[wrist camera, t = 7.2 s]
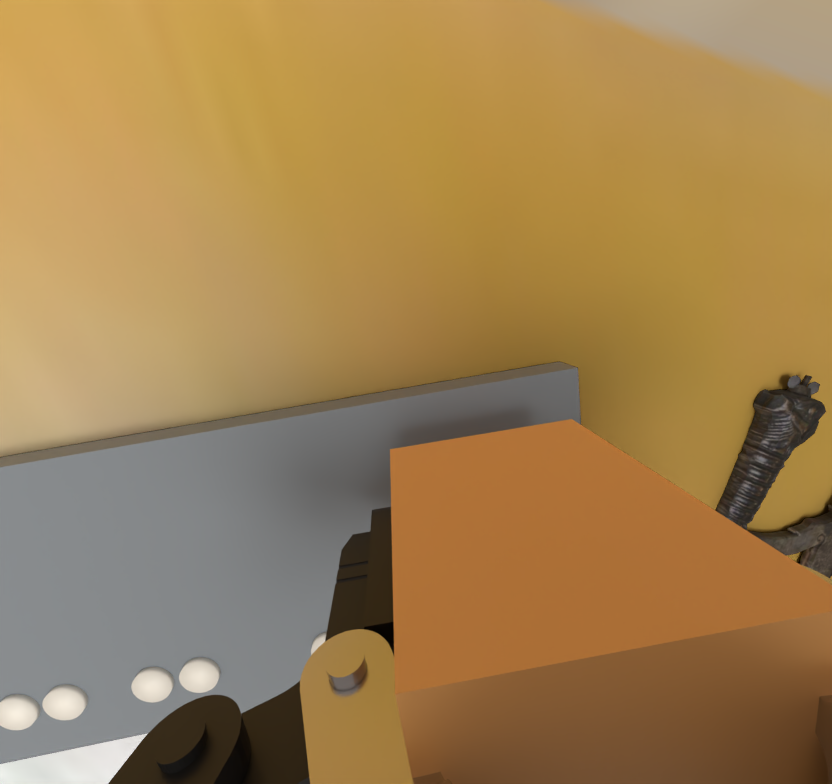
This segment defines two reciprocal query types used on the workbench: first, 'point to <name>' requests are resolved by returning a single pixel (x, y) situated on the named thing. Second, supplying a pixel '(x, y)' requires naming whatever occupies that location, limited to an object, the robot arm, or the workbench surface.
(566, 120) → the workbench surface
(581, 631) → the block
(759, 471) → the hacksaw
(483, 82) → the workbench surface
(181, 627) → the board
